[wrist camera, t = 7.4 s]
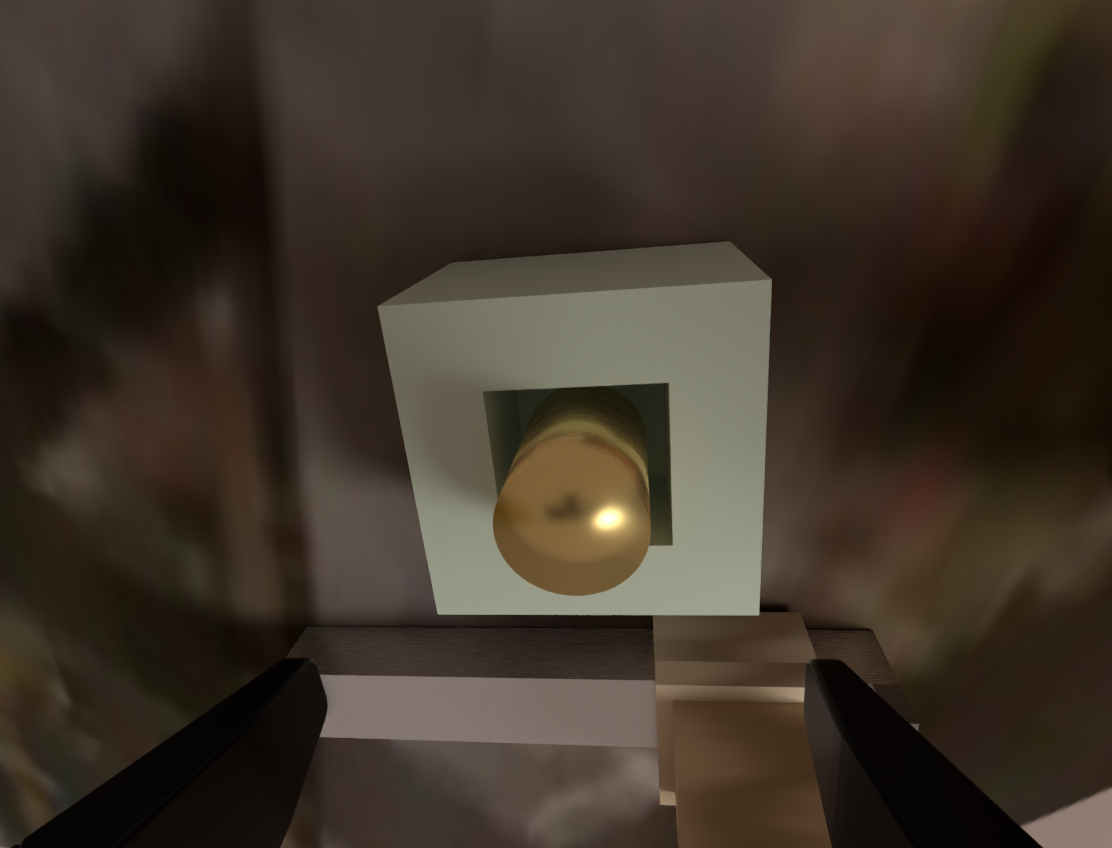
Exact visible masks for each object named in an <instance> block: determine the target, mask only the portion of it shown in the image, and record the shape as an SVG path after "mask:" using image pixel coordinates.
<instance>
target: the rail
mask: <svg viewBox="0 0 1112 848" xmlns="http://www.w3.org/2000/svg"><path fill="white" fill-rule="evenodd" d="M807 633H808V635H809V638H810V641H811V644H812V647H813V649H814V652H815V655H816V658H817V659H839V660H841V661H843V662H844V663H845V664H846V665H847V666H849V667H850V668H851V669H852V670H853V671H854V672H855V673H856V674H857V675H858V676H859V677H860V678H861V679H862V680H864V681H865V682H866V683H867V684H868V685H869V686H870V687H871V688H872V689H873V690H874V691H875V692H876V693H877V694H879V695H880V696H881V697H882V698H883V699H884V700H885V701H886V702H887V703H888V704H889V705H890V706H891V707H893V708H894V709H895V710H896V711H897V712H898V713H899V714H900V715H901V716H902V717H903V718H904V719H905V720H906V721H908V722H909V723H910V724H911V725H912V726H913V727H914V728H915V729H916V730H917V731H918V728H919V723H918V721H917V719H916V717H915V715H914V713H913V711H912V708H911V706H910V704H909V702H908V700H907V698H906V696H905V694H904V692H903V690H902V688H901V686H900V684H899V682H898V680H897V678H896V676H895V674H894V672H893V670H892V668H891V666H890V664H889V662H888V660H887V658H886V656H885V654H884V652H883V650H882V648H881V646H880V644H879V642H878V640H877V638H876V636H875V634H874V632H873V630H807ZM288 657H309V658H312V659H313V660H314V661H315V662H316V664H317V667H318V670H319V674H320V677H321V680H322V683H323V687H324V690H325V693H326V696H327V702H328V709H327V715H326V719H325V722H324V725H323V728H322V731H321V734H320V737H340V738H372V739H404V740H435V741H467V742H499V743H531V744H563V745H595V746H627V747H658V736H657V711H656V685H655V659H654V633H653V629H595V628H425V627H306V629H305V630H304V632H303V633H302V635H301V636H300V638H299V639H298V640H297V642H296V643H295V645H294V646H293V648H292V649H291V650H290V652H289V653H288V655H287V656H286V658H288Z"/></svg>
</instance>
